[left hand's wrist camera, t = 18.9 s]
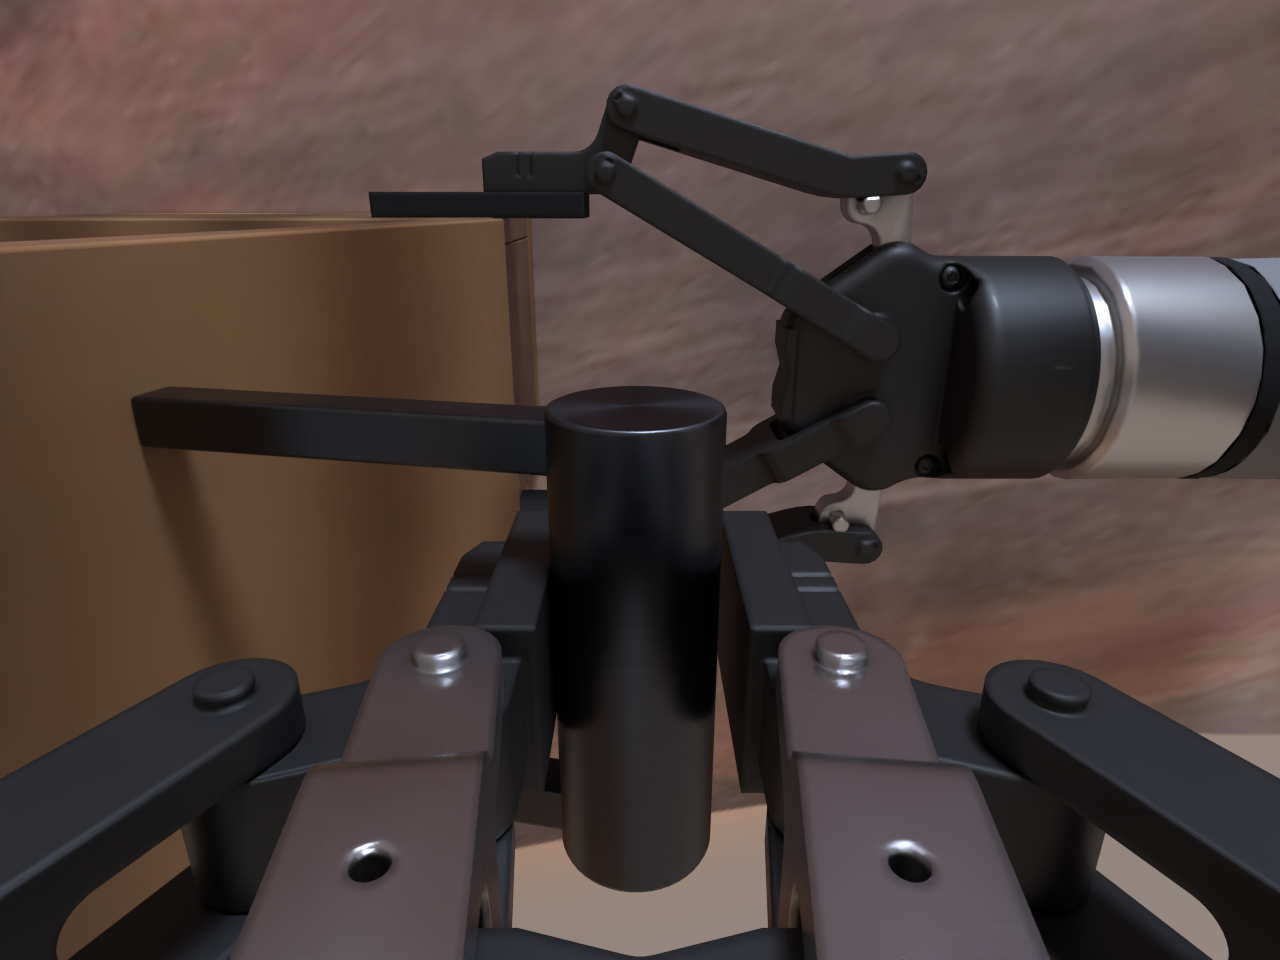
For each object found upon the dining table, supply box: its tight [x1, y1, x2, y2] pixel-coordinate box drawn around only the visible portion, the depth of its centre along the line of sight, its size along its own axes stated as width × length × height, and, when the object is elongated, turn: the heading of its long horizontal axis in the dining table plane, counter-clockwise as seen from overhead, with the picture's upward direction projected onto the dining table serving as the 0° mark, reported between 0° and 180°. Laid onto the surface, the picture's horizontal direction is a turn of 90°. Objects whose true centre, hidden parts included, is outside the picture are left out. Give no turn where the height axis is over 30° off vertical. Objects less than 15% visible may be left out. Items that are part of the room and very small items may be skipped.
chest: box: [0, 213, 539, 498], centre depth 29 cm, size 16×10×9 cm, turn 90°
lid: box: [0, 218, 727, 960], centre depth 15 cm, size 17×10×9 cm
